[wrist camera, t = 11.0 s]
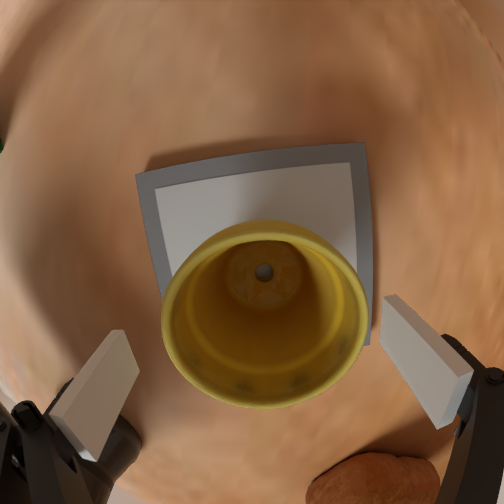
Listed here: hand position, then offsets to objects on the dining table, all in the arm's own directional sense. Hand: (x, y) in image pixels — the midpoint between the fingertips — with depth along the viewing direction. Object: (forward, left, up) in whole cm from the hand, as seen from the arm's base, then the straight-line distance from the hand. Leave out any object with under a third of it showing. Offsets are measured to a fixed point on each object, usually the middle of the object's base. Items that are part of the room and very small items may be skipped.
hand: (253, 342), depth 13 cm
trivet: (+1, 0, -11) cm, 11 cm away
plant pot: (+1, 0, -10) cm, 10 cm away
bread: (+15, -42, -12) cm, 46 cm away
